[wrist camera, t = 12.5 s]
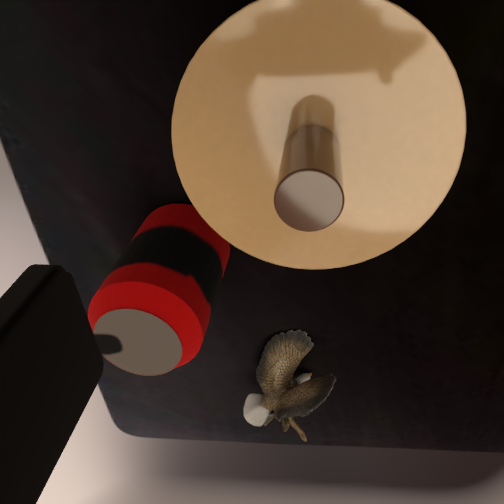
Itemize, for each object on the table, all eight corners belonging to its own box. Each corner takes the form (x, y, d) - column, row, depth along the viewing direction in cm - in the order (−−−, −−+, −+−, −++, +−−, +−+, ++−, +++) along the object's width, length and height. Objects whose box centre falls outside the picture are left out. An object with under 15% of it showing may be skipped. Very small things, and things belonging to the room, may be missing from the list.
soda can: (130, 205, 37) (59, 299, 27) (220, 196, 35) (180, 292, 26) (156, 280, 41) (102, 386, 31) (238, 275, 39) (209, 385, 29)
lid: (313, -102, 17) (309, -125, 12) (521, 138, 21) (587, 202, 15) (128, 145, 23) (71, 201, 18) (311, 294, 27) (308, 377, 22)
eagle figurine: (329, 413, 46) (356, 367, 40) (285, 465, 42) (307, 423, 35) (272, 364, 49) (289, 313, 43) (226, 407, 45) (237, 359, 38)
